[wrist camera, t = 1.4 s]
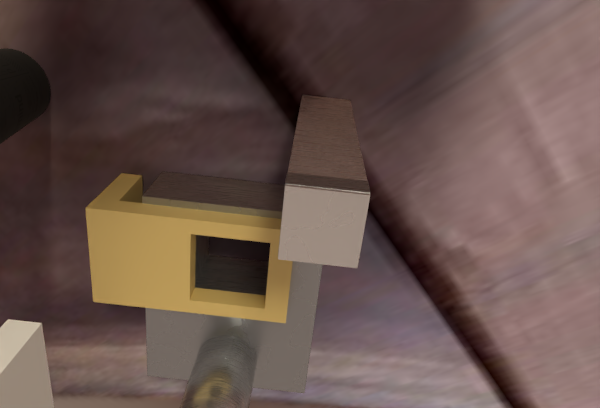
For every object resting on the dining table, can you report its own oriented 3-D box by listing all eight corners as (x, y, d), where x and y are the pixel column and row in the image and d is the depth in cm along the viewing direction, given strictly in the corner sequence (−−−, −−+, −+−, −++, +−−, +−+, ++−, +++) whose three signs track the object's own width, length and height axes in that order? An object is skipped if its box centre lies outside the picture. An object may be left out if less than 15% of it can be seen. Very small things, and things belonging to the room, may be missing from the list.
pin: (302, 94, 33) (284, 185, 19) (350, 99, 33) (370, 194, 19) (297, 140, 35) (277, 259, 20) (343, 146, 35) (357, 268, 20)
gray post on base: (162, 171, 36) (27, 333, 20) (328, 189, 36) (332, 367, 20) (164, 337, 42) (63, 565, 26) (306, 352, 42) (294, 591, 26)
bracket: (121, 173, 36) (85, 207, 31) (300, 193, 36) (296, 231, 31) (125, 256, 39) (93, 301, 34) (291, 275, 39) (285, 323, 34)
